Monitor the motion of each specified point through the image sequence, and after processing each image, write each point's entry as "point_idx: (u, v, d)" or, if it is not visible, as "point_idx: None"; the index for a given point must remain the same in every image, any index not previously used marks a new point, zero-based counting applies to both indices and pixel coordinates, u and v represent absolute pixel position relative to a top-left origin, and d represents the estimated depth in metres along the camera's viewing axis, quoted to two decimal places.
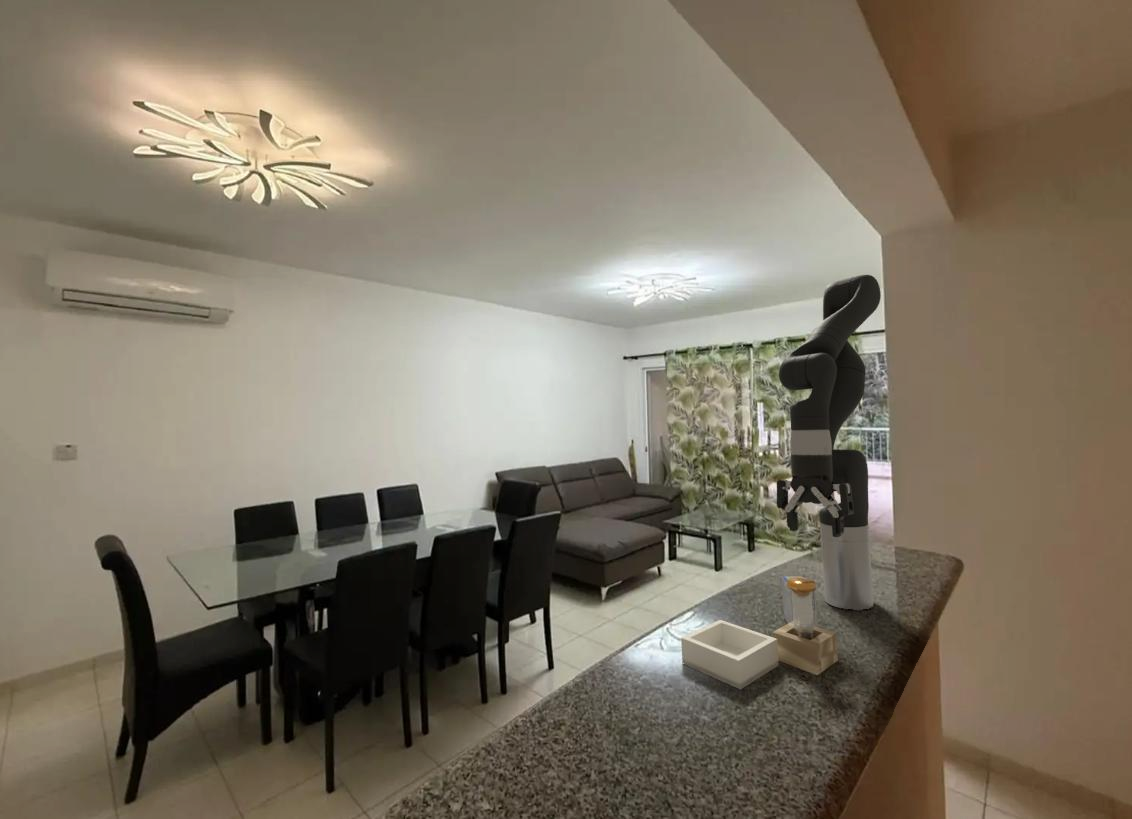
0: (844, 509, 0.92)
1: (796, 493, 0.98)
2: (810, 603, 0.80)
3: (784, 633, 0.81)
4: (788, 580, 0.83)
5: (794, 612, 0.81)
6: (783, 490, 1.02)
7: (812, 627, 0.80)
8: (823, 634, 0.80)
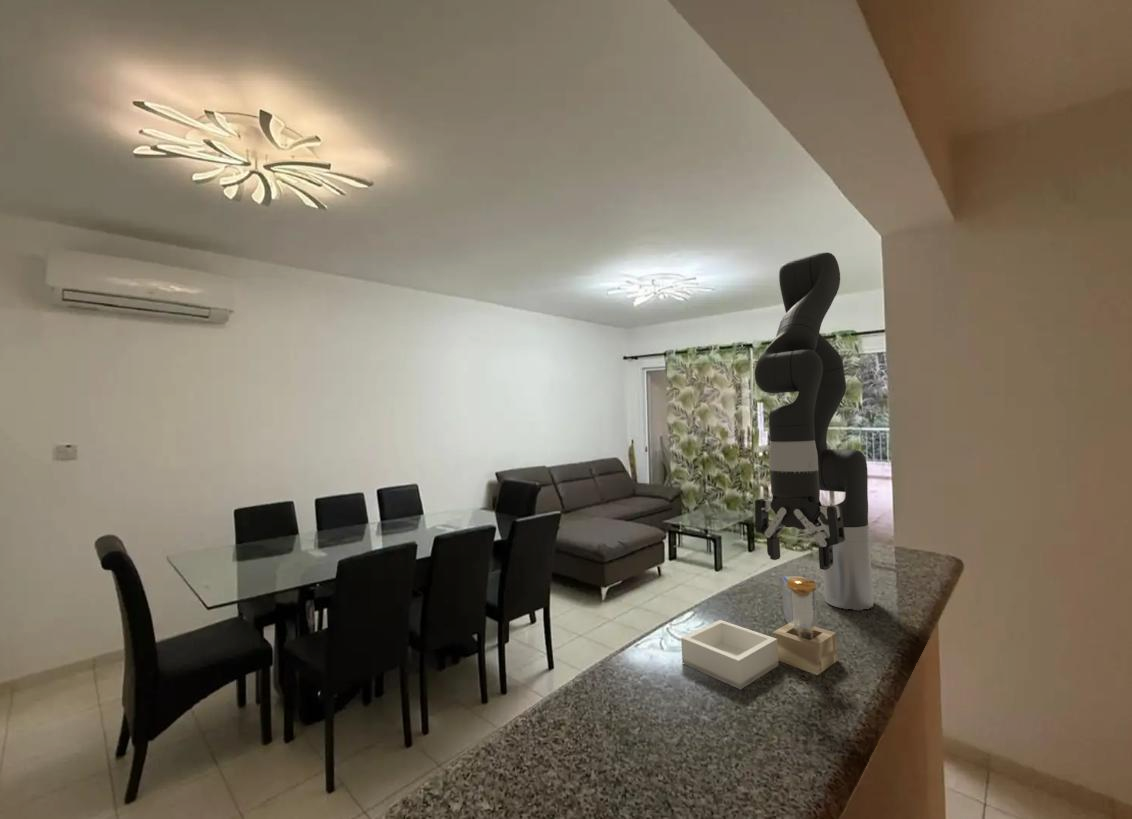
0: (833, 537, 0.76)
1: (777, 516, 0.83)
2: (810, 603, 0.80)
3: (784, 633, 0.81)
4: (788, 580, 0.83)
5: (794, 612, 0.81)
6: (762, 511, 0.86)
7: (812, 627, 0.80)
8: (823, 634, 0.80)
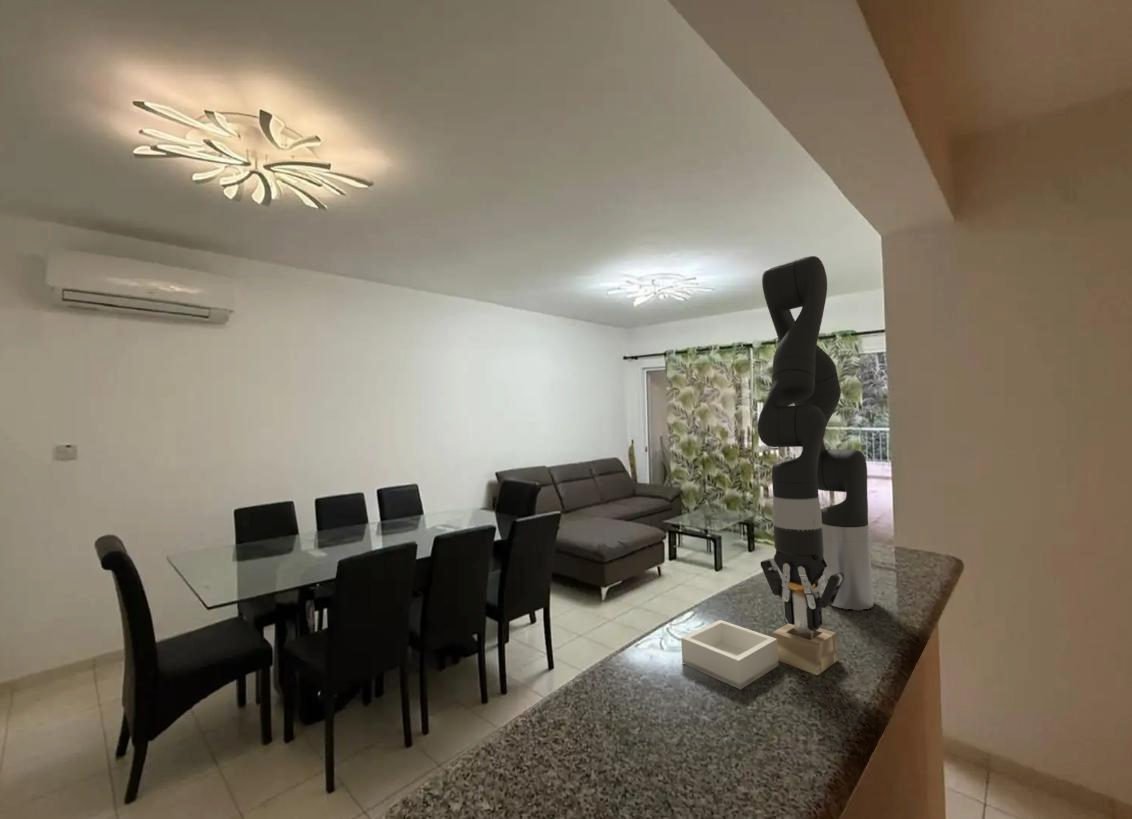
0: (822, 600, 0.78)
1: (784, 574, 0.82)
2: None
3: (784, 633, 0.81)
4: None
5: (794, 612, 0.81)
6: (771, 572, 0.85)
7: None
8: (823, 634, 0.80)
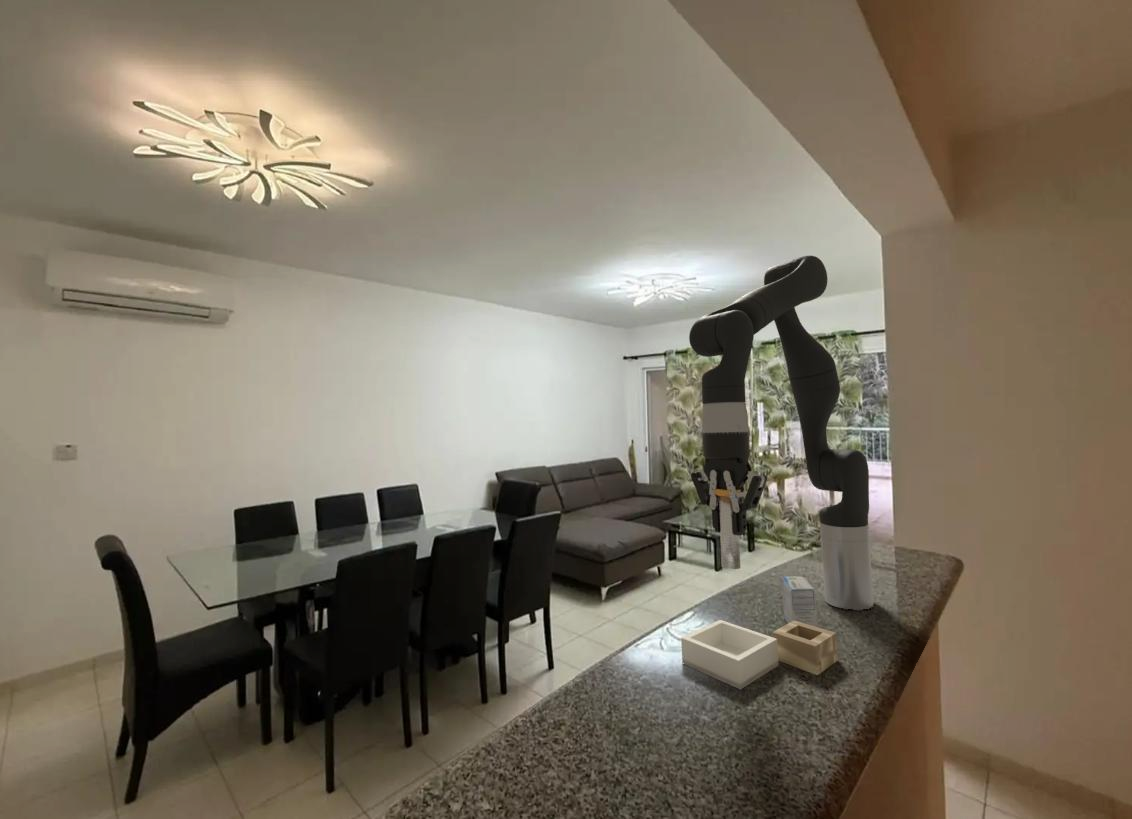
0: (745, 502, 0.78)
1: (711, 482, 0.82)
2: None
3: (784, 633, 0.81)
4: None
5: (720, 519, 0.81)
6: (700, 482, 0.85)
7: None
8: (823, 634, 0.80)
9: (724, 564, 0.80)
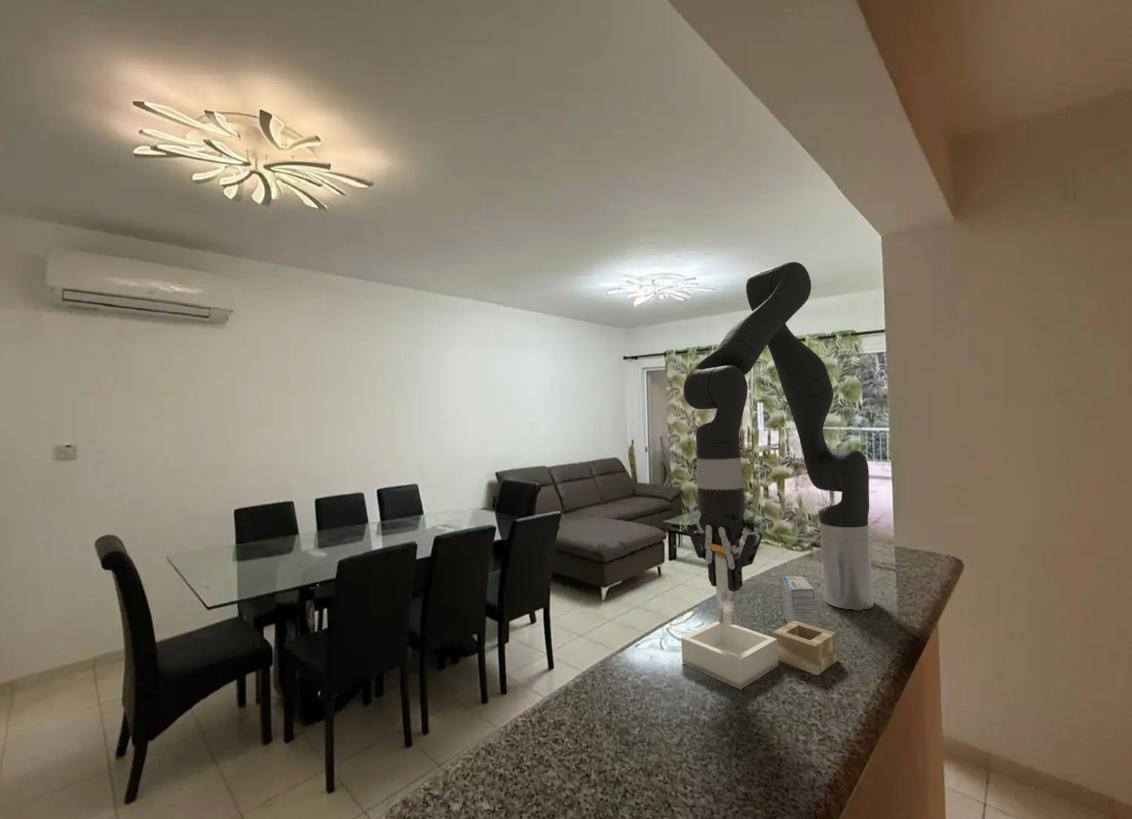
0: (740, 560, 0.78)
1: (707, 536, 0.82)
2: None
3: (784, 633, 0.81)
4: None
5: (716, 573, 0.81)
6: (696, 535, 0.85)
7: None
8: (823, 634, 0.80)
9: (720, 619, 0.80)
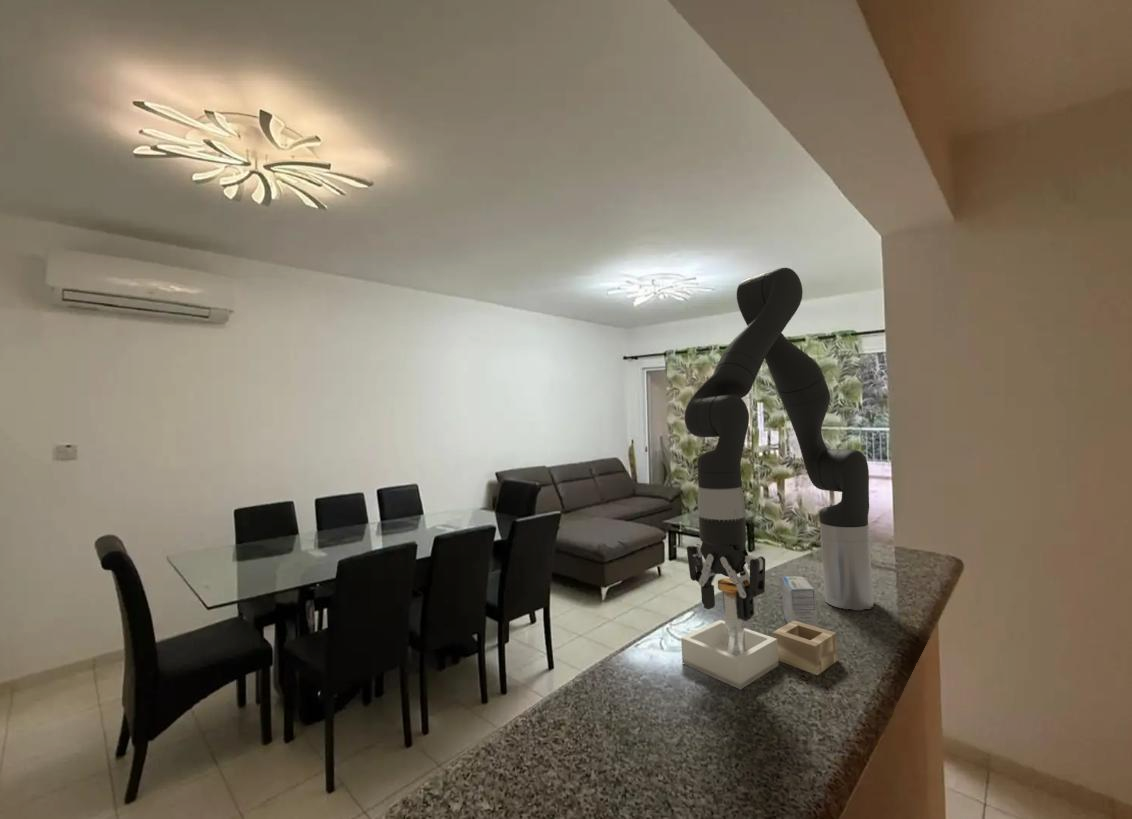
0: (752, 589, 0.76)
1: (706, 563, 0.82)
2: None
3: (784, 633, 0.81)
4: (719, 581, 0.81)
5: (725, 613, 0.80)
6: (694, 558, 0.85)
7: (742, 629, 0.79)
8: (823, 634, 0.80)
9: None
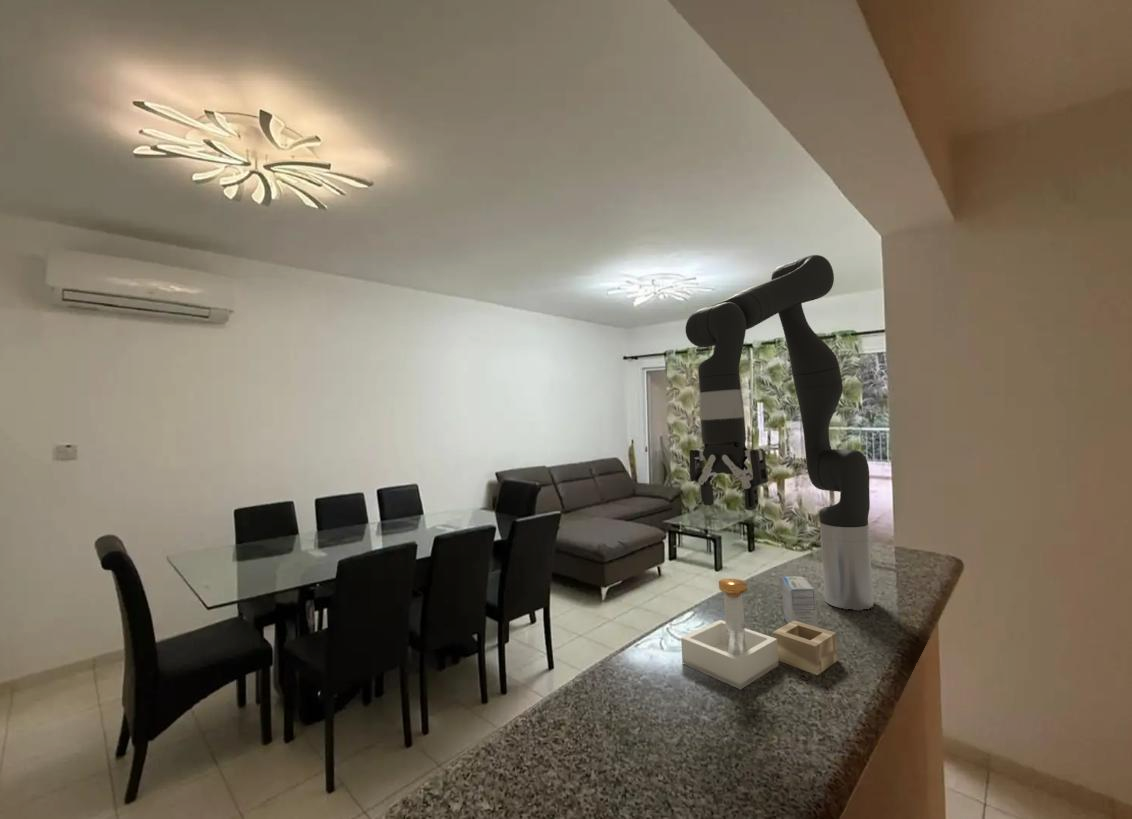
0: (756, 478, 0.81)
1: (708, 463, 0.87)
2: (741, 605, 0.79)
3: (784, 633, 0.81)
4: (720, 581, 0.81)
5: (725, 614, 0.80)
6: (696, 460, 0.91)
7: (743, 629, 0.79)
8: (823, 634, 0.80)
9: None
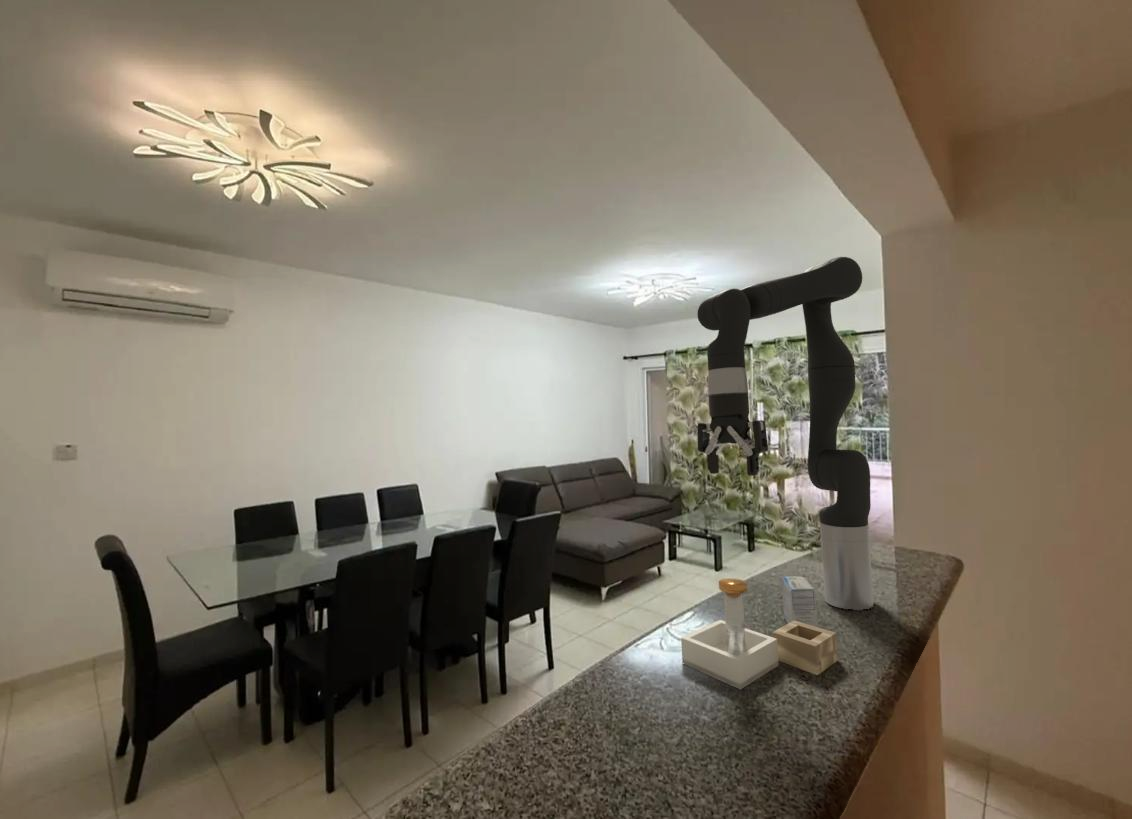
0: (757, 446, 0.90)
1: (714, 434, 0.97)
2: (741, 605, 0.79)
3: (784, 633, 0.81)
4: (720, 581, 0.81)
5: (725, 614, 0.80)
6: (703, 433, 1.00)
7: (743, 629, 0.79)
8: (823, 634, 0.80)
9: None
